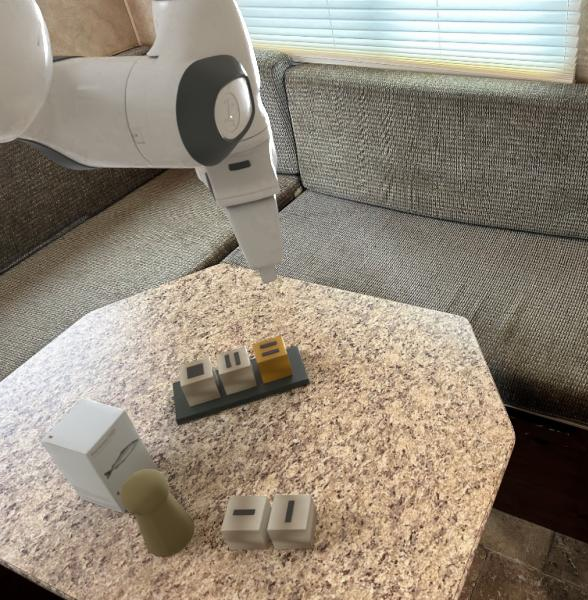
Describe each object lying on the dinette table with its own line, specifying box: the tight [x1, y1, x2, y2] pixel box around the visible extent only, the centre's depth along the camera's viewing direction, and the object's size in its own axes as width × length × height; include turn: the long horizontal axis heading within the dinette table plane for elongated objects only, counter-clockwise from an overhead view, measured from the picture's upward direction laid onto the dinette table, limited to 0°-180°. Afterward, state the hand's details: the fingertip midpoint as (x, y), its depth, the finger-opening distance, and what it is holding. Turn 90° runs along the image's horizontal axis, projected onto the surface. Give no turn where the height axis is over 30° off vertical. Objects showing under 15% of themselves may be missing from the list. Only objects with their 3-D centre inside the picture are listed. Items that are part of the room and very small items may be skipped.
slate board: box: [172, 345, 311, 426], centre depth 94 cm, size 20×8×1 cm, turn 110°
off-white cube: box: [220, 494, 272, 551], centre depth 73 cm, size 5×5×5 cm
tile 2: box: [215, 345, 257, 395], centre depth 92 cm, size 5×5×5 cm
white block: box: [267, 493, 318, 550], centre depth 73 cm, size 5×5×5 cm
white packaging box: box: [40, 397, 158, 514], centre depth 78 cm, size 7×7×13 cm
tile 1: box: [178, 356, 221, 407], centre depth 91 cm, size 5×5×5 cm
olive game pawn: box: [120, 469, 196, 558], centre depth 72 cm, size 6×6×11 cm
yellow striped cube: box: [252, 335, 293, 383], centre depth 93 cm, size 5×5×5 cm
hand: (262, 257), depth 74 cm, fingers open, 8 cm apart
